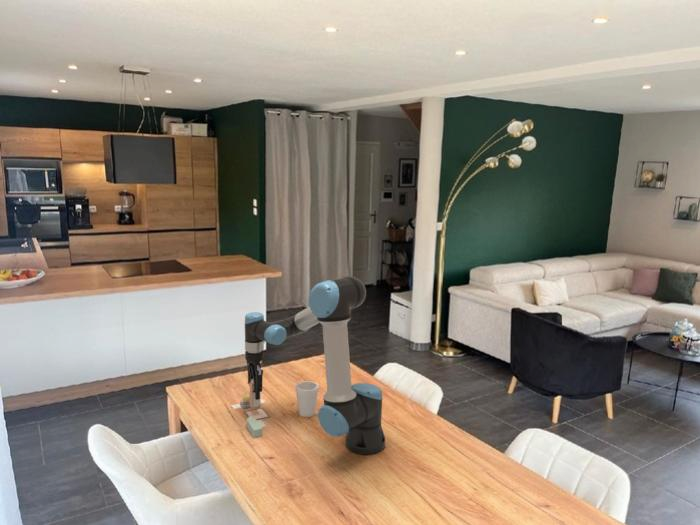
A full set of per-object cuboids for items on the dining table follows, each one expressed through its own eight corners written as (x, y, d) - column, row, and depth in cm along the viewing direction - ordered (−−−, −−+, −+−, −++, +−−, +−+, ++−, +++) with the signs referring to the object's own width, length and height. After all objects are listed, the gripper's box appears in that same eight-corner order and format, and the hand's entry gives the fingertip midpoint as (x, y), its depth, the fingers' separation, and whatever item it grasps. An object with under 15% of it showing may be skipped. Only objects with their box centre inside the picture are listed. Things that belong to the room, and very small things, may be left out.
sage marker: (262, 436, 198) (262, 428, 198) (254, 438, 197) (254, 430, 196) (253, 423, 207) (253, 415, 206) (245, 425, 205) (245, 417, 205)
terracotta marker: (260, 408, 216) (260, 380, 213) (252, 409, 214) (252, 382, 212) (257, 404, 219) (257, 377, 216) (249, 406, 217) (249, 378, 215)
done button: (252, 400, 222) (252, 396, 221) (244, 402, 220) (244, 398, 220) (250, 397, 225) (249, 393, 224) (241, 399, 223) (241, 394, 223)
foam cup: (307, 422, 211) (307, 392, 209) (290, 415, 217) (291, 386, 214) (322, 414, 219) (323, 385, 216) (306, 407, 224) (306, 379, 222)
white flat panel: (286, 428, 206) (286, 424, 205) (252, 437, 199) (252, 432, 199) (262, 400, 230) (262, 396, 229) (231, 407, 223) (231, 402, 223)
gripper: (270, 355, 207) (270, 410, 211) (256, 342, 221) (257, 394, 225) (252, 358, 203) (252, 414, 207) (239, 345, 217) (240, 397, 221)
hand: (255, 403), depth 216 cm, fingers closed on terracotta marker, 3 cm apart
